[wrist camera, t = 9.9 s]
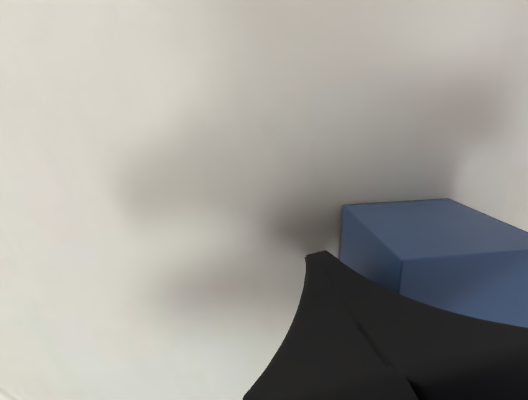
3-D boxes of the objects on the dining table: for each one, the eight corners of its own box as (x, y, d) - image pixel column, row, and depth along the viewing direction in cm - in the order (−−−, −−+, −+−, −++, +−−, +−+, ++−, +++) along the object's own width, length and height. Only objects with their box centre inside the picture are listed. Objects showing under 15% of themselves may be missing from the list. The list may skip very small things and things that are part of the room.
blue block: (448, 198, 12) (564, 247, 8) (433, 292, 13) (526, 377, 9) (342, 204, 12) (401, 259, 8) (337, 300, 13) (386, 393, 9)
